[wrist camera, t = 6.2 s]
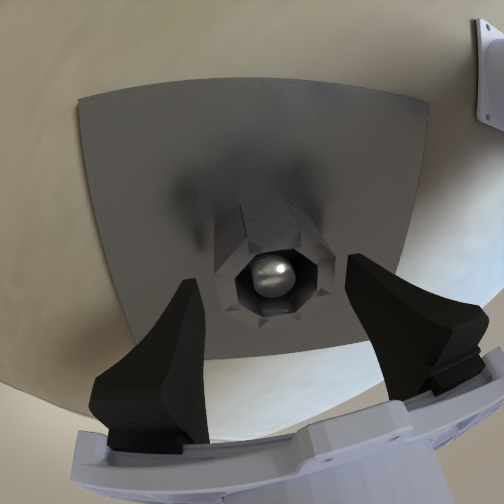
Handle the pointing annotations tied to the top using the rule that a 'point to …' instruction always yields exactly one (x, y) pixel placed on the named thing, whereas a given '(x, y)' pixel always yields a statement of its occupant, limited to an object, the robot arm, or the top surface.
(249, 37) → the top surface
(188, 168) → the stand
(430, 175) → the top surface
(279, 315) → the ring
